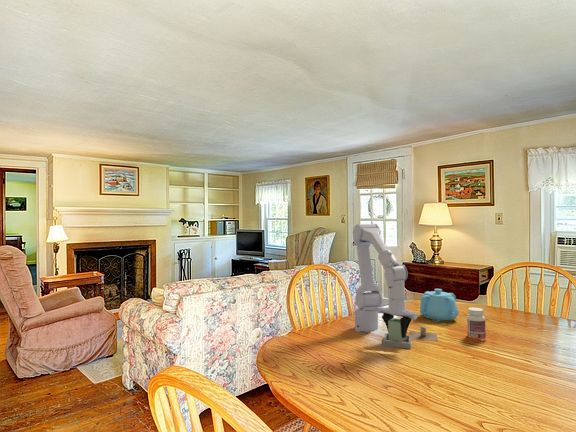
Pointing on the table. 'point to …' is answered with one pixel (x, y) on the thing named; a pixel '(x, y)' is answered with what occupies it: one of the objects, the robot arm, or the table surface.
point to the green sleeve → (395, 330)
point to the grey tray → (397, 344)
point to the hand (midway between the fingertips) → (397, 335)
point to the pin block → (423, 335)
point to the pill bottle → (476, 324)
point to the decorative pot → (439, 305)
